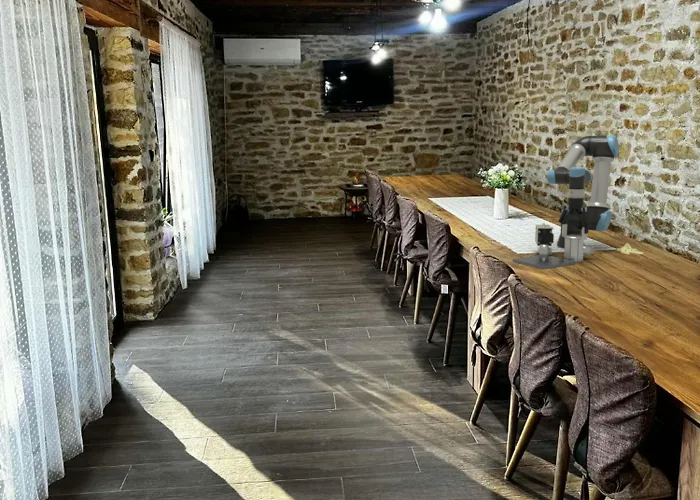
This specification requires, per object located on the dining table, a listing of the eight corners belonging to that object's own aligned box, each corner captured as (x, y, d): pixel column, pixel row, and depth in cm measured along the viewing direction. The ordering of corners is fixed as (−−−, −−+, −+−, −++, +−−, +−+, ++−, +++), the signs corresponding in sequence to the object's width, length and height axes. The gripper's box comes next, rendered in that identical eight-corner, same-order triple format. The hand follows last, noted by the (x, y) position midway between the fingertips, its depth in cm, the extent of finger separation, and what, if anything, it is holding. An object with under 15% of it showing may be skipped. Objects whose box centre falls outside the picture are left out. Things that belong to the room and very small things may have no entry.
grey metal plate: (544, 257, 330) (544, 239, 328) (575, 264, 311) (576, 245, 309) (512, 261, 321) (512, 244, 319) (542, 269, 301) (543, 250, 299)
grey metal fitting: (573, 263, 313) (574, 238, 311) (559, 260, 322) (560, 235, 319) (597, 259, 320) (598, 235, 318) (582, 256, 329) (583, 232, 327)
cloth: (602, 250, 355) (602, 240, 354) (634, 250, 355) (635, 239, 354) (618, 258, 334) (618, 247, 332) (652, 257, 333) (653, 246, 332)
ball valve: (554, 258, 325) (555, 225, 322) (537, 258, 327) (538, 225, 324) (550, 252, 343) (551, 221, 339) (534, 252, 344) (535, 221, 341)
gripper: (552, 196, 323) (551, 235, 326) (590, 199, 301) (587, 241, 304) (563, 195, 326) (561, 234, 330) (600, 198, 304) (598, 240, 308)
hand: (574, 238), depth 317 cm, fingers open, 13 cm apart
